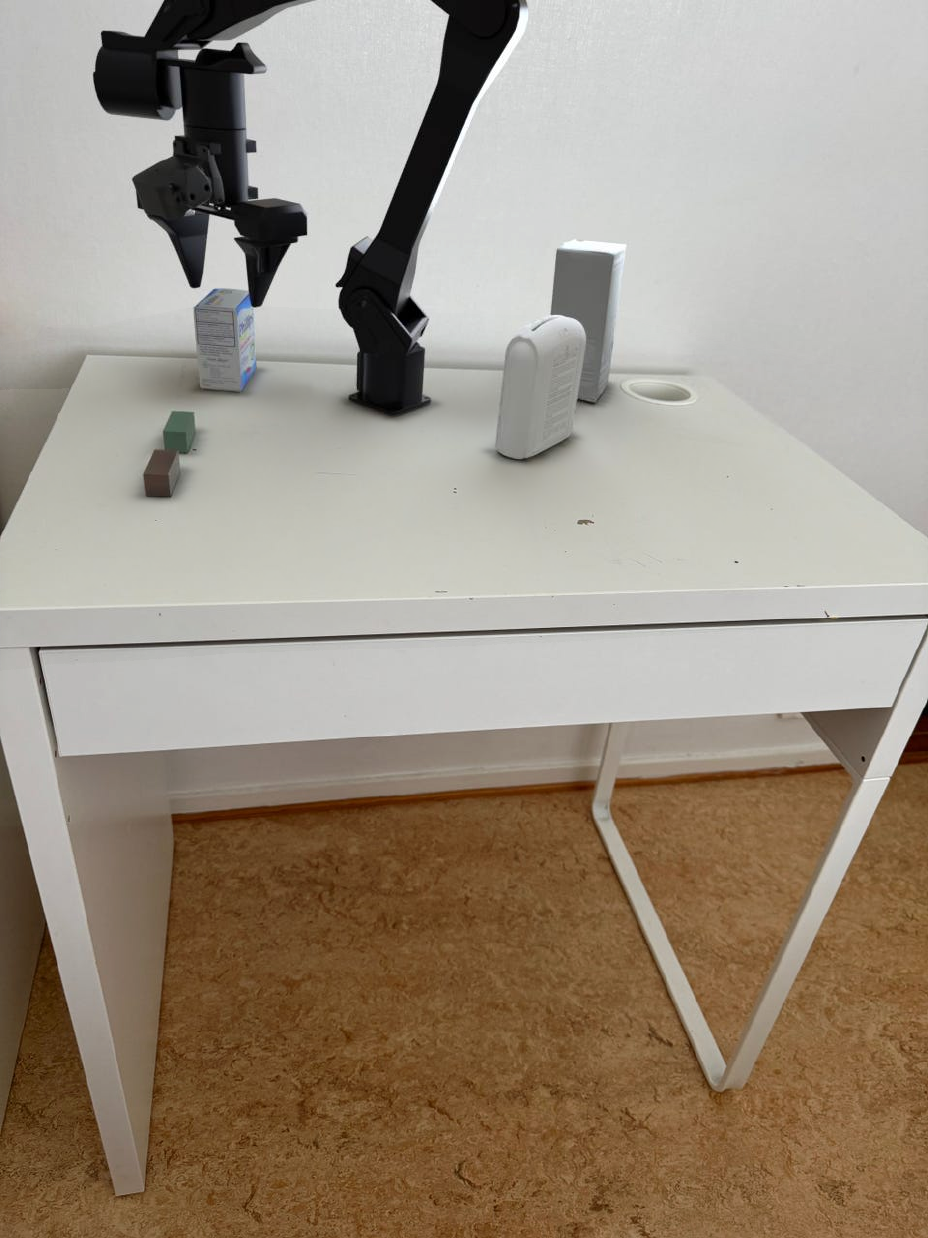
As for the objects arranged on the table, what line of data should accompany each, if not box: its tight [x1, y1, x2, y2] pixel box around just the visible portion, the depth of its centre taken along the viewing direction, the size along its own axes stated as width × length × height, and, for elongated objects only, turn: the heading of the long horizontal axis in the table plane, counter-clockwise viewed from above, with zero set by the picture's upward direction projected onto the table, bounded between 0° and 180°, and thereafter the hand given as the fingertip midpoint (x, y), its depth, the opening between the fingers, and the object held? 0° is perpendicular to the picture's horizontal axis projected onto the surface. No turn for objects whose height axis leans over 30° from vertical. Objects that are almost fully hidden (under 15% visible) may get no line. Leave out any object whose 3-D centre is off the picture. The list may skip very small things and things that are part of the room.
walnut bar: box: [142, 448, 181, 498], centre depth 76 cm, size 5×2×2 cm, turn 6°
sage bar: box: [162, 410, 196, 454], centre depth 83 cm, size 5×2×2 cm, turn 6°
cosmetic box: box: [549, 239, 628, 403], centre depth 102 cm, size 8×7×16 cm
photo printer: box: [495, 314, 586, 460], centre depth 87 cm, size 10×4×12 cm, turn 146°
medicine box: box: [193, 287, 257, 393], centre depth 96 cm, size 8×4×9 cm, turn 179°
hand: (225, 296), depth 94 cm, fingers open, 9 cm apart
